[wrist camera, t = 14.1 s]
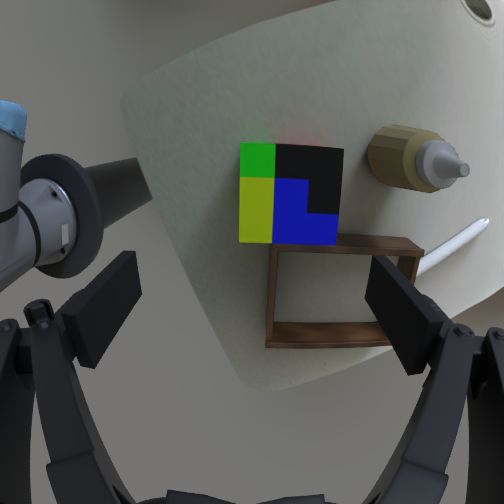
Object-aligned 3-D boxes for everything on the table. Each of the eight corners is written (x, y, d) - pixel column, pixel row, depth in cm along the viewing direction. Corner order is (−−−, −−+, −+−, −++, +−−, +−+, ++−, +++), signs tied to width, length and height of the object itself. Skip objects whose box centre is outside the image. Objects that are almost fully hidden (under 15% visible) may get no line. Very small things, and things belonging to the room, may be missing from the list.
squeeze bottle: (347, 156, 36) (410, 171, 19) (381, 113, 34) (459, 102, 17) (388, 194, 38) (462, 235, 21) (420, 153, 35) (505, 170, 18)
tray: (264, 326, 46) (265, 348, 41) (270, 229, 40) (271, 243, 35) (386, 325, 45) (397, 345, 40) (408, 237, 40) (424, 250, 35)
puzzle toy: (318, 220, 39) (335, 245, 30) (244, 217, 40) (239, 242, 30) (323, 146, 36) (343, 148, 26) (246, 142, 36) (240, 142, 27)
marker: (484, 212, 37) (492, 216, 35) (486, 222, 38) (494, 226, 36) (405, 265, 41) (411, 271, 39) (409, 275, 42) (415, 282, 40)
